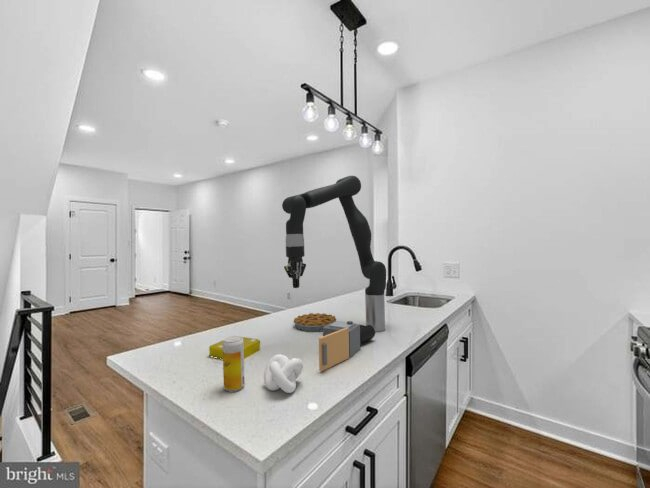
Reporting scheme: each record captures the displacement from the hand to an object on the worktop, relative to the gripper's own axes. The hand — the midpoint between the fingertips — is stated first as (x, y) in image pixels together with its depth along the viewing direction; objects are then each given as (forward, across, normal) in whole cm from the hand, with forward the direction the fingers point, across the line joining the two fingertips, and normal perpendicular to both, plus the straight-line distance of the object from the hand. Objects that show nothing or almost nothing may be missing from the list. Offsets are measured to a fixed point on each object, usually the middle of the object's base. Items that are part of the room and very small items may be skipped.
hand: (296, 287), depth 125 cm
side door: (+24, +8, +22) cm, 34 cm away
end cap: (+25, -18, +21) cm, 37 cm away
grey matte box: (+25, -5, +18) cm, 31 cm away
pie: (+26, -31, -10) cm, 41 cm away
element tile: (+26, +14, -20) cm, 36 cm away
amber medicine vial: (+25, +36, +1) cm, 44 cm away
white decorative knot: (+25, +30, +15) cm, 42 cm away
